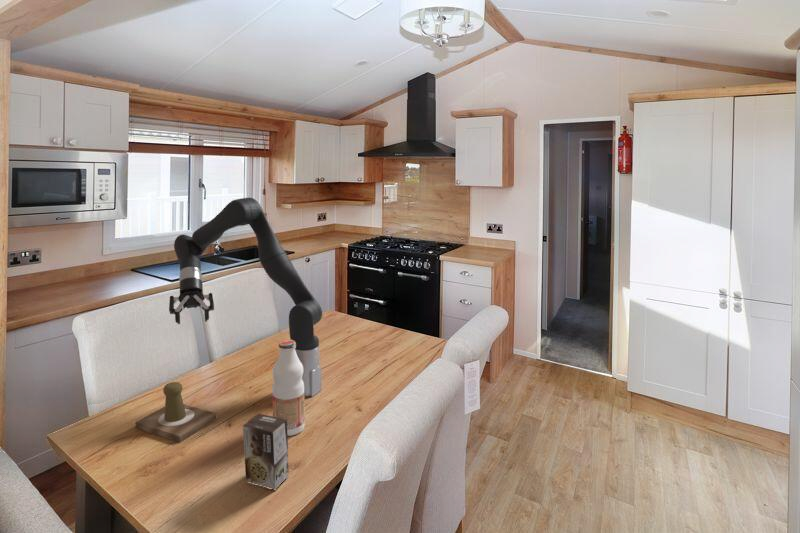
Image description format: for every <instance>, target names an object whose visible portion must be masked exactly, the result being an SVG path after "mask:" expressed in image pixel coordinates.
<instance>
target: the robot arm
mask: <svg viewBox="0 0 800 533" xmlns="http://www.w3.org/2000/svg"><path fill="white" fill-rule="evenodd" d="M248 225H249V227H250V228H251V229H252V231H253V233H254V235H255V237H256V239H257V248H258V249H257V251H258V259H259V262H260V264H261V266H262V268H263V269H264V271H265V272H266V275H268V277H269V278H270V279H271V280H272V282H274V283H275V284H276V285H277V286H279V287H280V288H282V289H283V290H284V291H285V292H286V293H287V294H288V295H289V297H290V298H291V299H292V301H293V303H294V304H295V305H294V306H293V307H292V308H290V310H289V314H288V330H289V331H288V332H289V338H290V339H289V340H294V341H295V342H296V348H295V351H296V353H297V356H298V358H299V360H300V362H301V363H302V365H303V370H304V371H303V376H302V380H303V382H304V398H306V397H315V396H316V395H317V394H318V393H319V392H321V391H322V387H323V386H322V365H321V364H320V339H319V337H318V336H317V335H315V334H314V333H315V332H314V330H315V329H314V326H315V325H316V324H318V323H319V322H320V321H321V320H322V318H323V310H322V307H321V306H320V304H319V302H318V300H317V299H316V298H315V296H314V295H313V294H312V293H311V291H310V290H309V289H308V287H307V286H306V284H305V282H304V281H303V280H302V277H301V276H300V274H299V273H298V271H297V270H296V267H295V266H294V265H293V263H292V261H291V259H290V257H289V256H288V254H287V252H286V251H285V250H284V248H283V246H282V245H281V243H280V241H279V239H278V237H277V235H276V234H275V232H274V231H273V229H272V227H271V226H272V225H270V222H269V220H268V218H267V216H266V214H265V212H264V209H263V208H262V205H261V204H260V202H258V200H256V199H255V198H253V197H241V198H237V199H232V200H231V201H230V202H229V203H227V204H226V205H225V207H223V209H222V210H221V211H220V212H219V213H218V214H216V215H215V217H214V218H212V219H211V220H209V221H208V222H207V223H205V224H204V225H202V226H200V227H199V228H197V229H196V230H194V231H193V234H192V236H190V235H187V234H180V235H178V236H177V237H176V238H175V240H174V242H173V249H174V251H175V255H176V257H177V260H178V263H179V276H178V277H179V278H178V280H179V295H178V296H174V295H171V296H169V303H168V305H169V306H168V310H169V311H168V312H169V314H170V315H174V317H175V318H174V320H175V323H177V325H181V313H182V312H183V311H184V310H185V309H186V308H187V309H191V308H196V309H197V308H198V307H199V309H201V310H203V312H204V322H205V323H206V322H208V321H209V319H210V313H209V312H211V311H214V310H215V304H214V303H215V302H214V296H213V293H212V292H209V293H208V294H204V288H203V287H204V286H203V275H202V266H201V265H202V264H201V259H200V258H199V257H201V256H202V255H203V254H204V252H205V251H206V250H207V248H208V247H209V246H210V245H212V244H213V243H215V242H216V241H218V240H220V238H222V236H223V234H224V233H225V232H226V231H228V230H231V229H233V228H237V227H240V226H241V227H243V226H248ZM205 299H206V300H207V301H209V305H207V304H206V303H205V302H204V300H205ZM177 302H179V304H178V306H177V307H176V308H175V304H177Z"/></svg>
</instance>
